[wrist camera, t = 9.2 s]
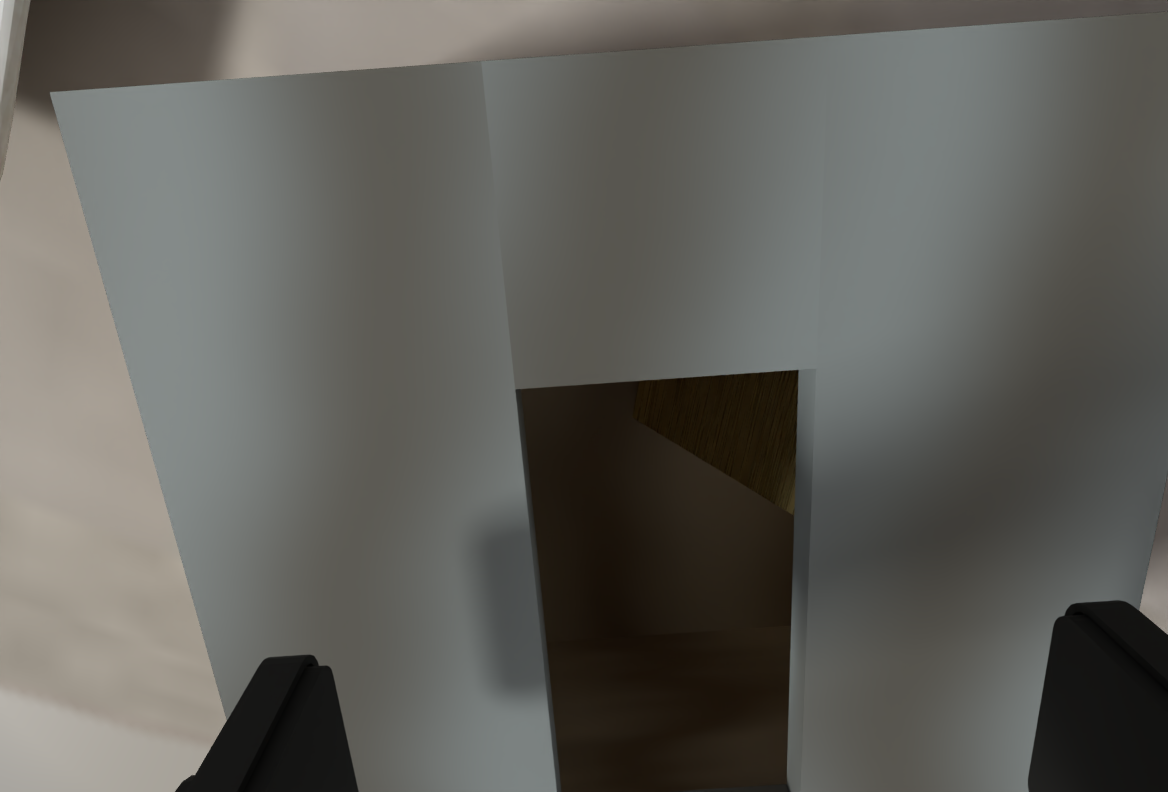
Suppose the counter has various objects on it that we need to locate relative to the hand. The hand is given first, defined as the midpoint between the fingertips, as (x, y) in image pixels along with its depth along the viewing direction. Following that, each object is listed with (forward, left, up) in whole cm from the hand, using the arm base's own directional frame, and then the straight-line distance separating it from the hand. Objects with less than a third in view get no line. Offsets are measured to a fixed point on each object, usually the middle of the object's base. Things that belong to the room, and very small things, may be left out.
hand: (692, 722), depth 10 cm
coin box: (0, 0, -12) cm, 12 cm away
